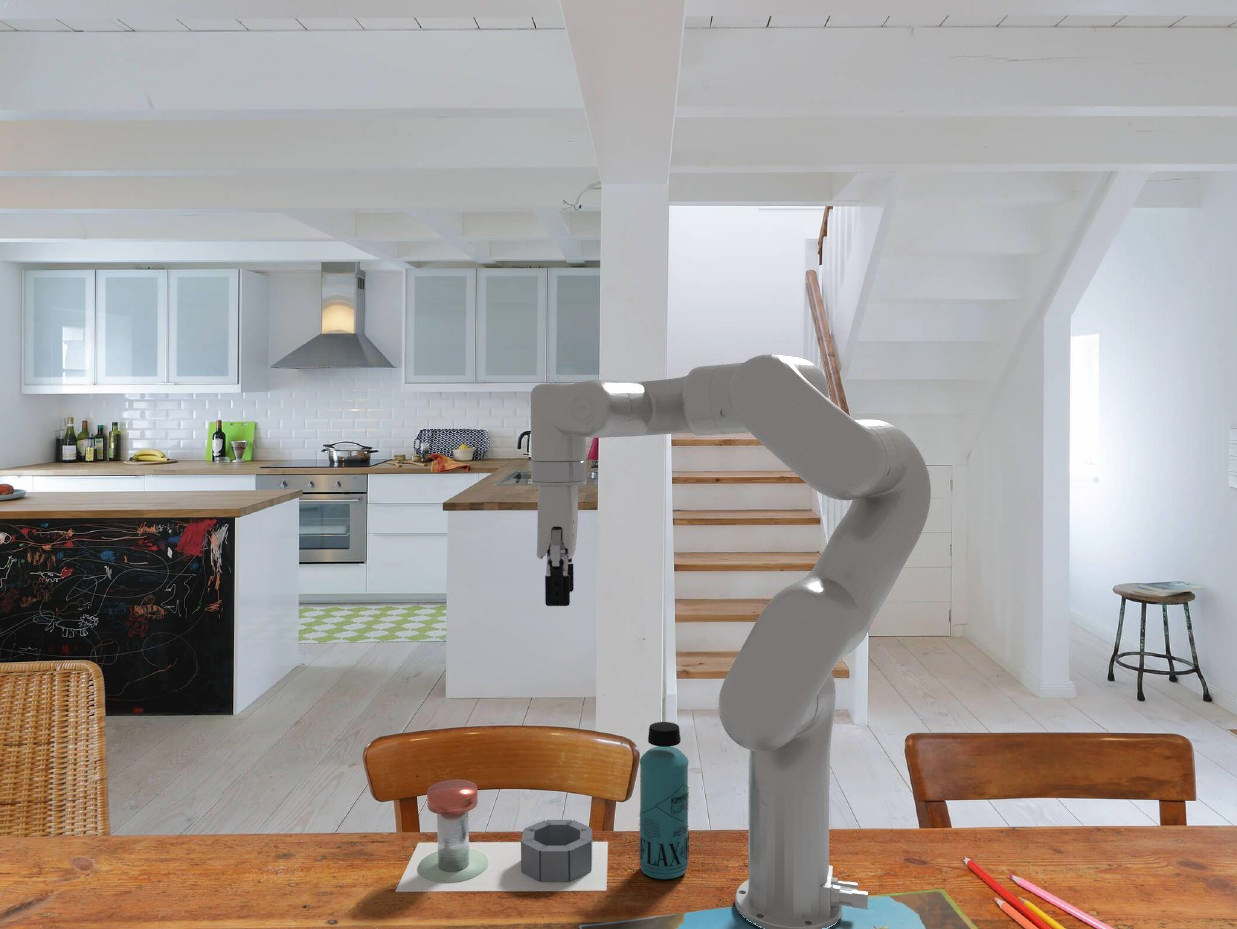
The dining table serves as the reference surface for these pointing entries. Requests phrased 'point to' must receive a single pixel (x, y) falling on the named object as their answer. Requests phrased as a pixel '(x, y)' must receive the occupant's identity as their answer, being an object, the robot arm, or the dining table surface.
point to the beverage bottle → (664, 805)
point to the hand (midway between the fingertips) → (560, 598)
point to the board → (517, 863)
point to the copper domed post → (452, 821)
